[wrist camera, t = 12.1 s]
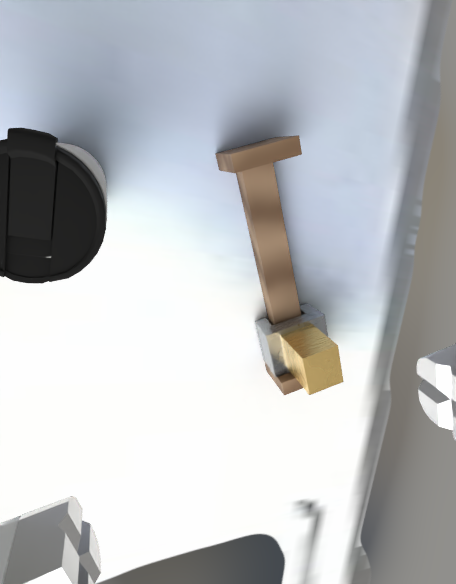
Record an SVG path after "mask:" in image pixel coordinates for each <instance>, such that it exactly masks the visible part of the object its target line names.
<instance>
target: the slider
mask: <svg viewBox="0 0 456 584" xmlns="http://www.w3.org/2000/svg"><path fill="white" fill-rule="evenodd" d="M300 311H301V316H298V317H295V318H292V319H290V320H287V321H284V322H281V323H278V324H276V325H273V326H272V325H271V323H270V322H269V321H268V320H267V319H266V318H264V319H261V320H258V321H255V324H256V329H257V333H258V337H259V341H260V345H261V350H262V354H263V358H264V361H265V363H266V364H267V365H268V367H269V368H270V371H271V372H272V373H273V375H274V376H275V377H278V376H281V375H283V374H286V373H289V372H291V373H292V375H293V376H294V377H295V378H296V379H297V381H298V382H299V383H300V384H301V385H302V387H303V388H304V389H305V390H306V391H307V393H308V394H309V395H311V394H314V393H316V392H319V391H321V390H324V389H326V388H329V387H331V386H334V385H336V384H339V383H341V382H343V376H342V370H341V363H340V357H339V350H338V345H337V344H335V343H334V342H333V341H332V340H331V339H330V338H328V334H327V328H326V322H325V316H324V314H323V313H321V312H320V311H319V310H316V309H315V308H313V307H312V306H311V305H309V304H308V303H306V304H303V305H301V306H300Z"/></svg>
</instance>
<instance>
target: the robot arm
mask: <svg viewBox="0 0 456 584" xmlns="http://www.w3.org/2000/svg"><path fill="white" fill-rule="evenodd" d="M417 374H418V375H419V376H420V377H421V378H423V381H422V382H421V385H420V386H419V388H418V392H419V400H420V403H421V405H422V407H423V409H424V411H425V413H426V414H427V415H428V416H429V418H430V419H431V420H432V421H433V422H435V423H436V424H437V425H438V426H440V427H444V428H447V429H451V430H452V432H453V437H454V439H455V440H456V343H455V344H454V345H452V346H449V347H447V348H444V349H442V350H439V351H437V352H434V353H432V354H429V355H427V356H424V357H422V358H419V360H418V363H417ZM100 573H101V558H100V552H99V546H98V541H97V538H96V535H95V532H94V530H93V528H92V526H91V524H89V523H87V522H84V521H82V507H81V505H80V504H79V502H78V500H77V499H76V497H72V496H71V497H68V498H66V499H63V500H60V501H57V502H55V503H52V504H49V505H47V506H44V507H41V508H39V509H36V510H33V511H31V512H28V513H25V514H23V515H22V516H18V517H16V518H13V519H10V520H8V521H5V522H2V523H0V584H95V582H96V580H97V578H98V577H99V575H100Z"/></svg>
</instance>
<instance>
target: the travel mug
mask: <svg viewBox="0 0 456 584" xmlns="http://www.w3.org/2000/svg"><path fill="white" fill-rule="evenodd" d="M57 142H58V138H56V137H54V136H53V135H51V134H49V133H45V132H41V131H37V130H31V129H25V128H9V129H8V137H7V139H5V140H0V276H2V277H4V276H6V277H8V278H9V279H11V280H13V281H19V282H24V283H44V282H47V281H49V282H52V281H57V280H62V279H67V278H69V277H71V276H73V275H75V274H77V273H78V272H80V271H81V270H82V269H83V268H85V267H86V266H87V265H88V264H89V263H90V262H91V261H92V259H93V258H94V257H95V256H96V254H97V253H98V251H99V249H100V246H101V244H102V242H103V239H104V234H105V230H106V221H107V192H106V179H105V175H104V172H103V169H102V167H101V166H100V164H99V163H98V161H97V160H96V159H95V158H94V157H93V156H92V155H91V154H90V153H89V152H87V151H86V150H84V149H82V148H80V147H78V146H75V145H71V144H65V143H57Z"/></svg>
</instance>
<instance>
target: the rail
mask: <svg viewBox="0 0 456 584" xmlns="http://www.w3.org/2000/svg"><path fill="white" fill-rule="evenodd" d="M301 154H302V152H301V146H300V139H299V136H286V137H275V138H271V139H268V140H264V141H260V142H256V143H253V144H249V145H245V146H242V147H238V148H234V149H231V150H227V151H223V152H220V153H216V158H217V162H218V167H219V170H220V171H226V172H231V173H236V175H237V179H238V184H239V188H240V193H241V198H242V202H243V207H244V211H245V216H246V220H247V225H248V229H249V234H250V238H251V243H252V247H253V252H254V256H255V261H256V265H257V270H258V274H259V279H260V283H261V288H262V292H263V297H264V301H265V306H266V310H267V315H268V319H269V322H270V323H271V325H272V326H273V325H276V324H278V323H281V322H284V321H287V320H290V319H292V318H295V317H298V316H301V311H300V306H299V300H298V295H297V289H296V284H295V279H294V273H293V268H292V262H291V257H290V252H289V246H288V241H287V236H286V230H285V225H284V219H283V214H282V209H281V203H280V198H279V192H278V187H277V182H276V176H275V171H274V166H273V162H276V161H280V160H283V159H287V158H291V157H294V156H298V155H301ZM265 366H266V370H267V372H268V373H269V375H270V376H271V378H272V379H273V380H274V382H275V383H276V384H277V386H278V387H279V389H280V390H281V391H282V393H283V394H284V395H286V394H289V393H291V392H294V391H297V390H299V389H302V388H303V387H302V385H301V384H300V383H299V382H298V381H297V379H296V378H295V377H294V376H293V375H292V373H291V372H289V373H286V374H283V375H281V376H278V377H275V376H274V375H273V373H272V372H271V371H270V368H269V367H268V365H267V364H266V363H265Z"/></svg>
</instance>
